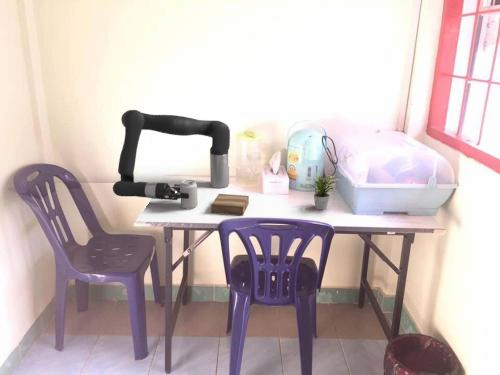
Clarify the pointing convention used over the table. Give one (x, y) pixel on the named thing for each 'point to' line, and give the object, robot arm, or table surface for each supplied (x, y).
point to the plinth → (230, 204)
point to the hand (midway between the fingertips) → (191, 193)
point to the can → (190, 189)
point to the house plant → (322, 191)
